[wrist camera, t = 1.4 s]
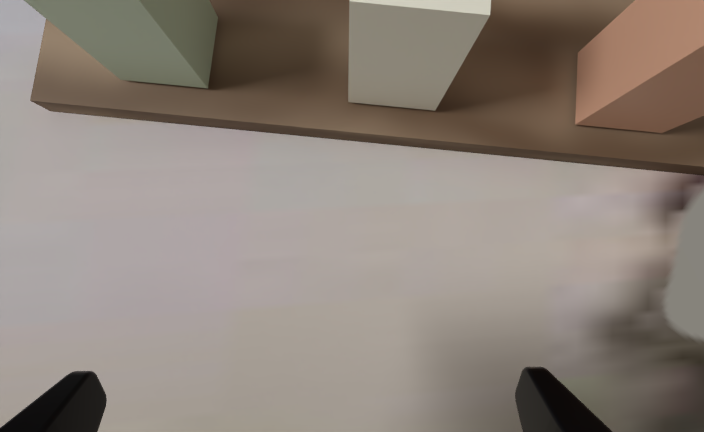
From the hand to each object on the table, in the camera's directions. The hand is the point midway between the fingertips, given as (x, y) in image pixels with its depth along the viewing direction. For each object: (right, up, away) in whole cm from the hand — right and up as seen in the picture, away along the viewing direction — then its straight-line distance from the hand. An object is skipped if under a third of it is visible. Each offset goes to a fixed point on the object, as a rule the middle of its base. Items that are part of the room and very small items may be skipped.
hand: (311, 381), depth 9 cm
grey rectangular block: (+3, +11, +13) cm, 18 cm away
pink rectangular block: (+15, +10, +13) cm, 23 cm away
